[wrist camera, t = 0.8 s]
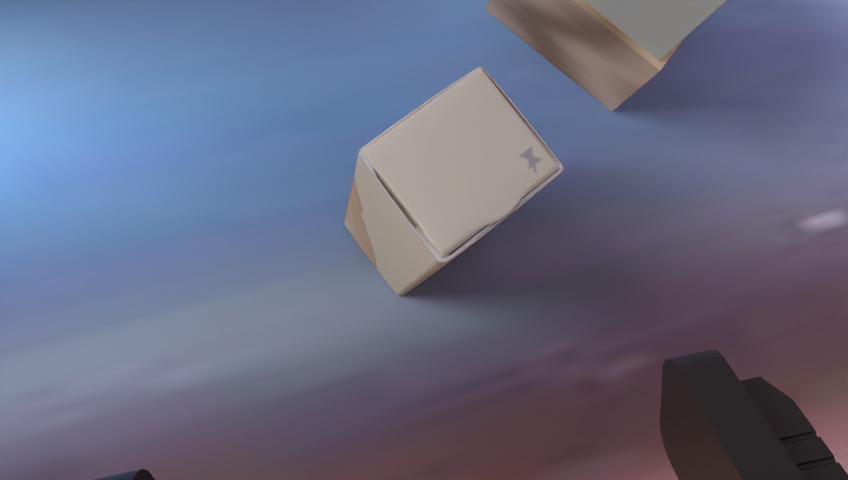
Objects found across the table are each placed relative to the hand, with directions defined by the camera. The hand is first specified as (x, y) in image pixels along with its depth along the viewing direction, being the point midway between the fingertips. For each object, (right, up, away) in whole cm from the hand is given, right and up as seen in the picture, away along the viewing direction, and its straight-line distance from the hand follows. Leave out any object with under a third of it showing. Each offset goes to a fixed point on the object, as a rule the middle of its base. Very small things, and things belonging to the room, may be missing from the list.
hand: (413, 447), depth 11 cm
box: (0, +4, +21) cm, 21 cm away
